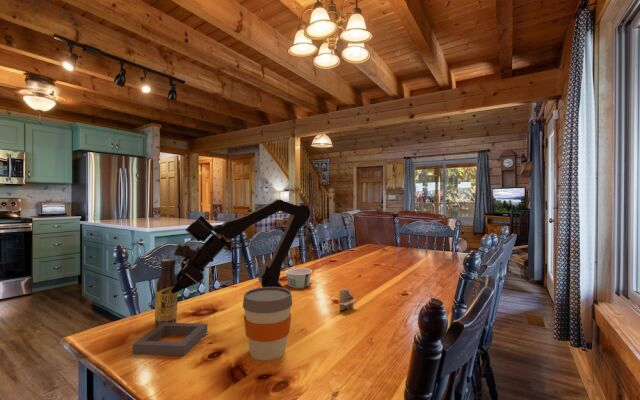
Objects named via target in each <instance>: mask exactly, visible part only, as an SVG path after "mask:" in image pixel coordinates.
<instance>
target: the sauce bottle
mask: <svg viewBox="0 0 640 400" xmlns="http://www.w3.org/2000/svg"><path fill="white" fill-rule="evenodd" d="M160 265H161V271H160V276H159V278H158V280H157V282H156V289H155V304H154V305H155V306H154V307H155V308H154V310H155V311H154V325H155V326H156V327H157V326H159V325H160V324H162V323H177V322H176V321H177V317H178V297H179V296H178V295H179V291H178V292H176V293H174V294H173V293H172V292H171V290H172V289H173V287H174V286H175V285H176V283H177V278H176V276H177V275H176V273H175V265H176V259H175V258H168V259H167V258H166V259H164V258H163V259H162V260H161V261H160Z"/></svg>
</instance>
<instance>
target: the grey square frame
mask: <svg viewBox="0 0 640 400" xmlns="http://www.w3.org/2000/svg"><path fill="white" fill-rule="evenodd" d="M206 334H208V323H189V322H187V323H186V322H175V323H162V324H160V325H159V326H157V325H156V327H155V328H153V329H151V331H149V332H148V333H146V334H144V336H142V337H141V338H139V339H138V340H136V341H135V342H133V343H132V355H148V356H149V355H150V356H152V355H153V356H179V357H186V355H187V354H188V353H189V352H190V351H191V350H192V349H193V348H194V346H195V345H197V344H198V343H199V341H201V340H202V339H203V338H204V337H205V336H206ZM165 335H176V336H177V335H180V336H181V335H182V336H185V335H186V336H185V337H184V339H182V340H181V341H161V340H160V339H162V337H164V336H165Z"/></svg>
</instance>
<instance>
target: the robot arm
mask: <svg viewBox="0 0 640 400" xmlns="http://www.w3.org/2000/svg"><path fill="white" fill-rule="evenodd" d="M278 212H282V213H285V214H288V220H287V225H286V228H285V229H284V232H283V234H282V236H281V238H280V240H279V242H278V244H277V247H276V249H275V250H274V253H273V254H272V257H271V258H270V260H269V262H267V264H266V263H264V262H263V263H262V264H261V268H260V270H259V271H258V273H257V274H258V277H257V278H258V281H259V284H260V286H261V287H281V288H285V287H284V286H283V285H282V284H281V283H280V282H279V280H280V276H281V270H282V266H283V263H284V262H285V259H286V258H287V255H288V253H289V252H290V249H291V248H292V247H291V246H292V244H293V243H294V241H295V239H296V236H297V234H298V232H299V231H300V229H301V228H303V227H304V225H305V224H306V223H307V222H308V220H309V218H310V217H311V214H312V213H311V209H310V208H309V206H307V205H305V204H294V203H290V202H288V201H285V200H283V199H279V198H277V199H275V200H273V201H272V202H270V203H268V204H266V205H264V206H262V207H260V208H258V209H255V210H254V211H252V212H249V213H247V214H245V215H243V216H239V217H235V218H232V219H228V220H226V221H224V222H223V223H222V224H216V225H212V224H211V223H210V222H208V221H209V220H207V219H206V218H205V217H204V216H203V215H200V216H198V217H197V218H196V219H195V220H194V221H192V223H190V224H189V225H188V226H187V227H186V229H185V232H186V233H188V234H189V235H190V236H191V237H192V238H194V239H195V240H196V241H197V242H200V241H203V242H204V243H203V244H202V245H200V246H198V247H196V248H193V247H191V246H190V245H187V244H186V243H185V244H183V243H180V242H179V243H177V245H176V248H175V249H174V252H173V254H174V255H175V256H178V257H182V260H181V261H180V262H181V265H180V266H181V268H180V269H179V271H178V273H177V274H176V275H175V276H176V278H177V283H176V285H175V286H174V287H173V289H172V290H171V292H172V293H173V294H174V293H176V292H178V293H179V292H180V291H183V290H185V289H186V288H189V287H191V286H194V285H197V284H199V283H201V281H203V279H204V271H205V268H206V267H207V266H208V265H209V264H210V263H213V262H214V261H215V258H216V257H217V256H218V255H219V254H220V253H221V252H222V251H223V250H224V248H227V249H228V250H230V251H231V250H232V243H233V242H232V241H231V240H233V239H235V238H237V237H238V236H240V235H241V234H243V233H244V232H245V231H246V230H247V229H248V228H249V227H251V226H252V225H255V224H256V223H258V222H261V221H263V220H265V219H266V218H268V217H271V216H272V215H275V214H276V213H278ZM217 235H221V236H217ZM222 235H223V236H222ZM224 237H225V238H224ZM227 239H229V240H227Z"/></svg>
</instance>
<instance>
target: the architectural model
mask: <svg viewBox="0 0 640 400" xmlns="http://www.w3.org/2000/svg"><path fill="white" fill-rule="evenodd" d="M355 302H357V299H355V298H354V296H353V294H351V292H350V287H347V288H344V289H341V290H339V302H338V303H337V304H338V305H339V306H338V307H339V308H338V309H339V311H340V312H341V311H342V310H345V309H347V310H350V309H351V308H352V309H353V308H354V303H355Z"/></svg>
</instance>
